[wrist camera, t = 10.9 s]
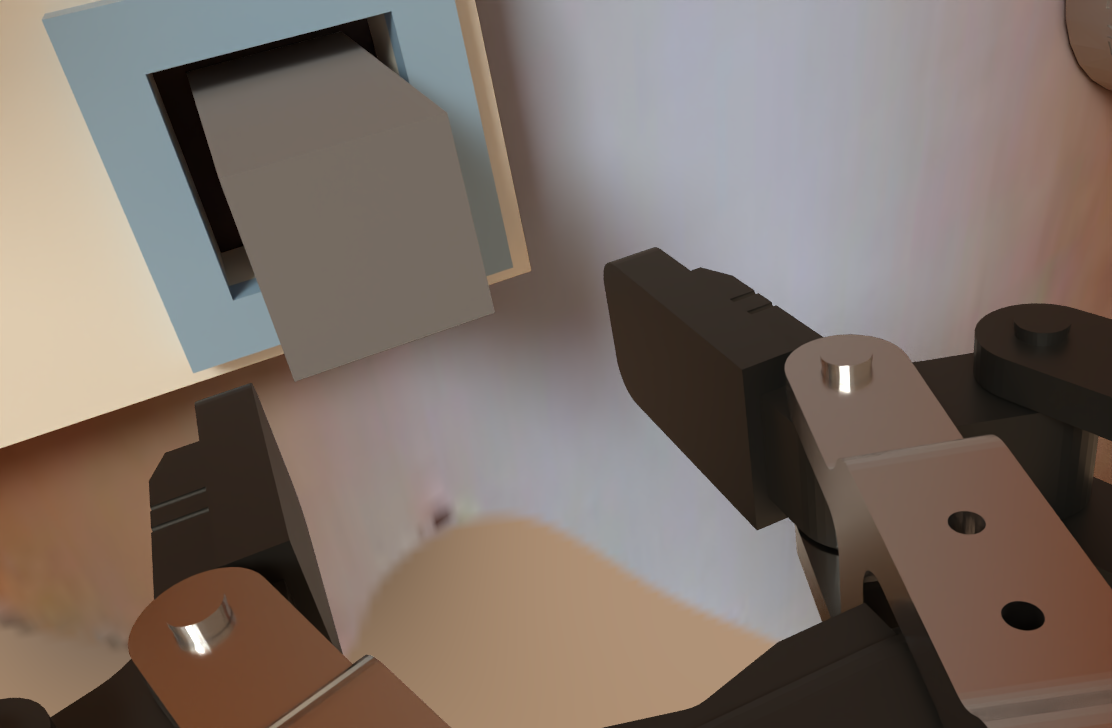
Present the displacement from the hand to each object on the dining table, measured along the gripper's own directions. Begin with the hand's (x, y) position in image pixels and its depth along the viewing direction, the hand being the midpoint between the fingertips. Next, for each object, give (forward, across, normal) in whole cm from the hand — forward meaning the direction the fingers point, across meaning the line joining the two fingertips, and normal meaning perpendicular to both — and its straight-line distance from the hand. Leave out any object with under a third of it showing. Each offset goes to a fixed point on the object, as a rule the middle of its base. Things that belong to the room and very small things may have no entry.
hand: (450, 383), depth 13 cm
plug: (+15, 0, 0) cm, 15 cm away
